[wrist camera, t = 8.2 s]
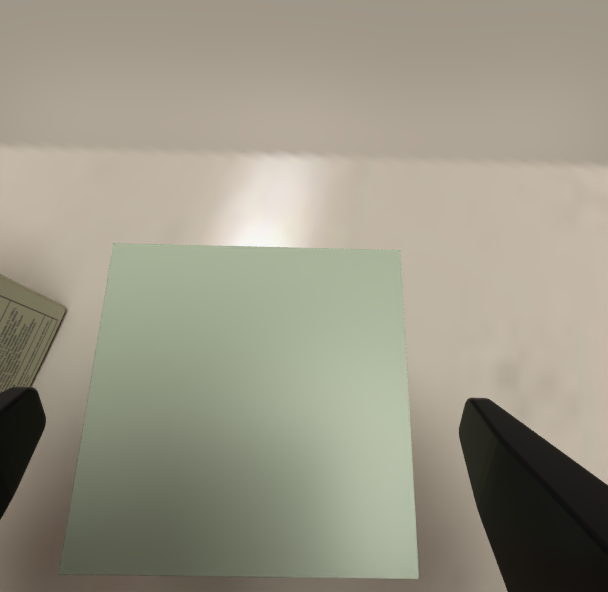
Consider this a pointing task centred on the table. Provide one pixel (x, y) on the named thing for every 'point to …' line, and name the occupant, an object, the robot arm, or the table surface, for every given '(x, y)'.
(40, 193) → the table surface
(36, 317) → the skincare box
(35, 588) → the table surface
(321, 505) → the mint green pillar
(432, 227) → the table surface
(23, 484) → the table surface
